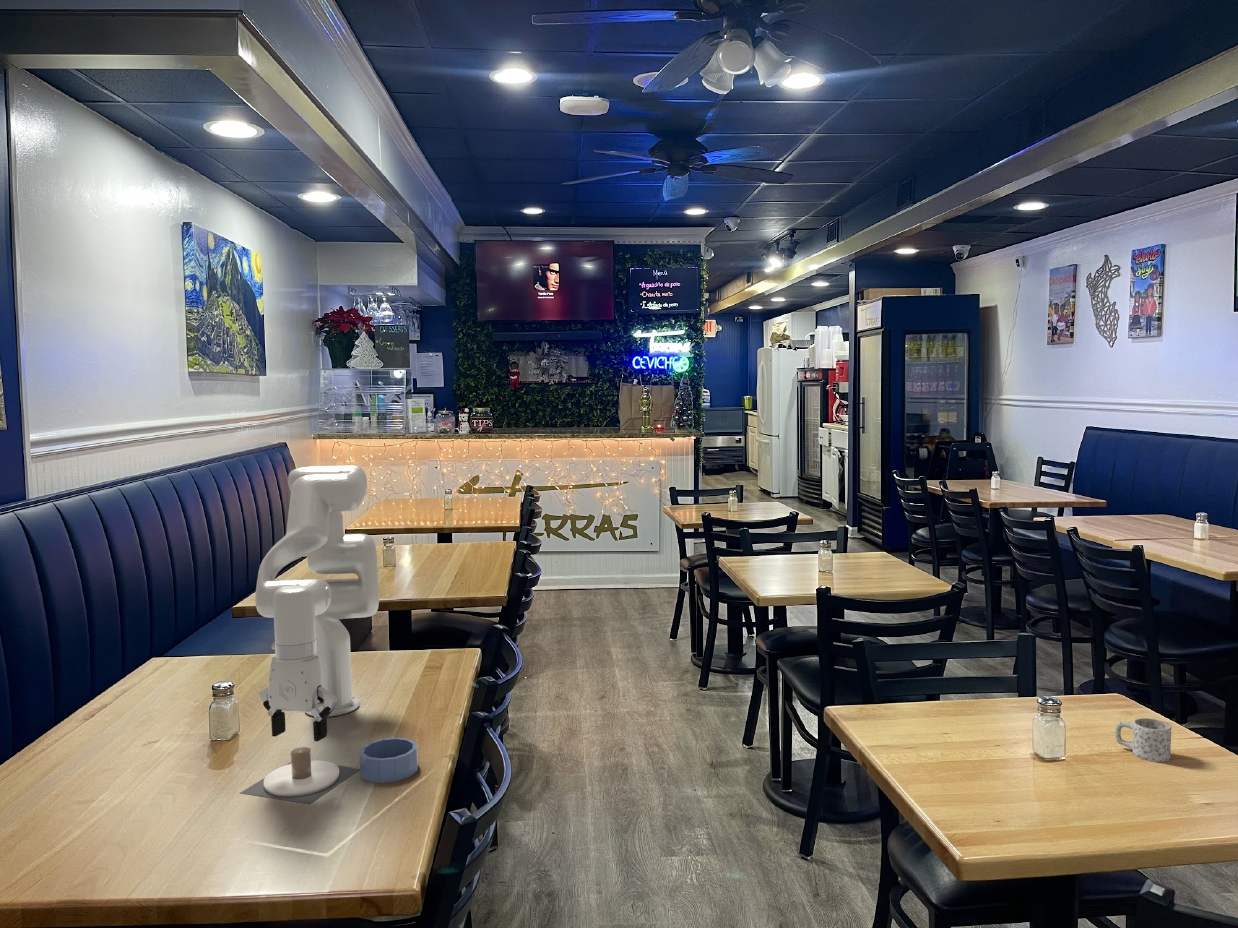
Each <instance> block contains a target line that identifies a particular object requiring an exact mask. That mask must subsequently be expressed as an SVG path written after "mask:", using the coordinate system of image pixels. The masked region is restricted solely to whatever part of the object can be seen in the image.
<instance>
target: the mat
mask: <svg viewBox="0 0 1238 928" xmlns="http://www.w3.org/2000/svg"><path fill="white" fill-rule="evenodd" d="M289 764H291V761H290V762H288V763H287V764H286V765H289ZM336 765H337V766H338V768H339V778H338V780H337V781H336V782H335V783H334V784H333V785H331V786H330V787H328V788H326V789H324V790H321V791H318V792H315V793H312V794H307V795H302V796H293V797H283V796H276V795H272V794H269V793H268V792H266V791H265V789H264V779H265V777H263V778H262V779H260V780H259V781H257V782H255V783H254V784H252V785H250V786H248V788H246V789H244V790H242V791H241V792H239V794H242V795H249V796H256V797H261V798H268V799H274V800H281V801H287V802H292V803H301V804H306V805H311V804H313V803H314V802H316V801H317V800H319V799H320V798H322V797H323V796H324V795H326V794H327V793H329V792H330V791H332V790H333V789H334V788H336V787H337V786H339V785H341V784H342V783H344V781H346V780H348V779H349V778H350V777H352V776H353V775H354V774H356V773H358V772H359V771H360V767H359V768H357V767H353V766H345V765H338V764H336Z"/></svg>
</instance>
